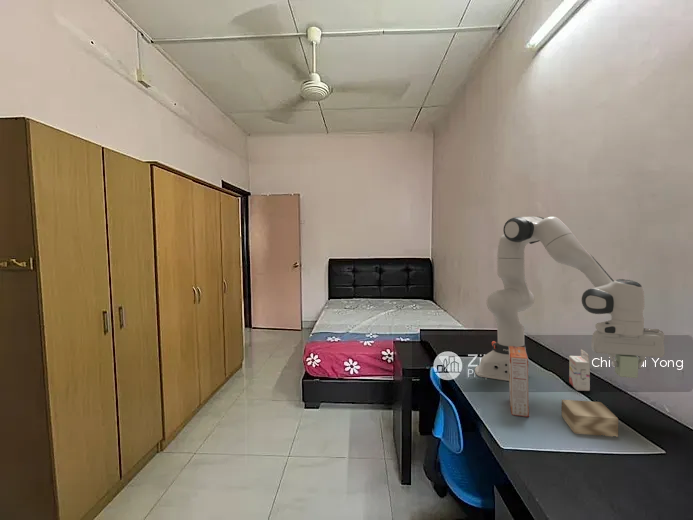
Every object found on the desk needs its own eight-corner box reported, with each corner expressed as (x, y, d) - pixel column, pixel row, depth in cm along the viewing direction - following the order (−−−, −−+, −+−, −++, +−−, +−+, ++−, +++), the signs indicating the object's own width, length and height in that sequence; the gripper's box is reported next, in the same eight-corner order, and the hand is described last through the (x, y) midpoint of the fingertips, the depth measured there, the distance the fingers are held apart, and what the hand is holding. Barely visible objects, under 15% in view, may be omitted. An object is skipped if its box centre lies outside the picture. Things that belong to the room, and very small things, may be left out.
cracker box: (508, 399, 143) (508, 345, 142) (525, 401, 141) (525, 346, 140) (510, 415, 130) (509, 356, 129) (529, 417, 128) (529, 357, 127)
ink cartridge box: (568, 382, 158) (568, 348, 157) (581, 383, 157) (581, 348, 156) (576, 390, 150) (576, 354, 149) (590, 391, 149) (590, 354, 148)
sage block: (620, 376, 127) (620, 356, 126) (614, 371, 131) (615, 352, 131) (637, 378, 125) (638, 357, 125) (631, 373, 130) (632, 353, 129)
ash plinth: (574, 434, 117) (574, 415, 117) (561, 416, 129) (561, 399, 128) (618, 437, 114) (618, 418, 114) (600, 419, 126) (600, 402, 126)
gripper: (660, 327, 127) (658, 367, 128) (590, 323, 134) (589, 361, 134) (669, 331, 121) (667, 373, 122) (595, 327, 128) (594, 367, 128)
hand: (626, 367), depth 128 cm, fingers closed on sage block, 5 cm apart
